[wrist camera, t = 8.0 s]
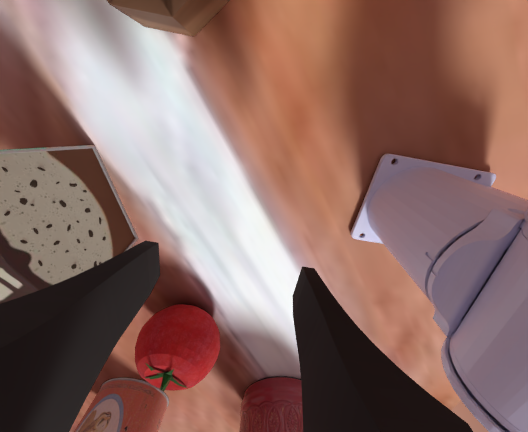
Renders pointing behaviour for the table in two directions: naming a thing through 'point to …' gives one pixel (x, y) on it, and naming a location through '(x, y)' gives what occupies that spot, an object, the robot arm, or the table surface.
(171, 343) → the tomato
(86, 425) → the canned food
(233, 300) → the table surface
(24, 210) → the food container
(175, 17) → the walnut bead
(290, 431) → the canister
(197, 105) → the table surface
